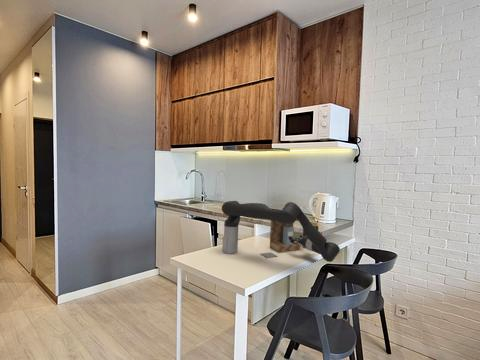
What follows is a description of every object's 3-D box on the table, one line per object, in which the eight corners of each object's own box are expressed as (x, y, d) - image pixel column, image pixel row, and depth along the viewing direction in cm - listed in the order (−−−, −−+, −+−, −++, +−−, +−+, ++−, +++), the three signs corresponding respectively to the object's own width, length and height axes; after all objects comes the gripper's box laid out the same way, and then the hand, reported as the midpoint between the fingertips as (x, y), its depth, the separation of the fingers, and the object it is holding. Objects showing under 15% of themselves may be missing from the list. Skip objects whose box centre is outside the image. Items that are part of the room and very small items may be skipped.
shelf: (278, 252, 183) (279, 220, 182) (269, 248, 193) (270, 217, 192) (300, 250, 191) (302, 218, 190) (290, 245, 201) (292, 216, 200)
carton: (287, 245, 187) (287, 227, 187) (282, 243, 192) (283, 225, 191) (293, 244, 190) (293, 227, 189) (288, 242, 194) (289, 225, 194)
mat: (266, 258, 172) (266, 257, 172) (260, 254, 179) (260, 253, 179) (277, 256, 175) (277, 256, 175) (270, 252, 182) (270, 252, 182)
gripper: (320, 236, 172) (303, 230, 187) (301, 238, 166) (285, 232, 181) (319, 248, 173) (302, 241, 187) (301, 251, 166) (285, 243, 181)
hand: (294, 237), depth 184 cm, fingers open, 8 cm apart
